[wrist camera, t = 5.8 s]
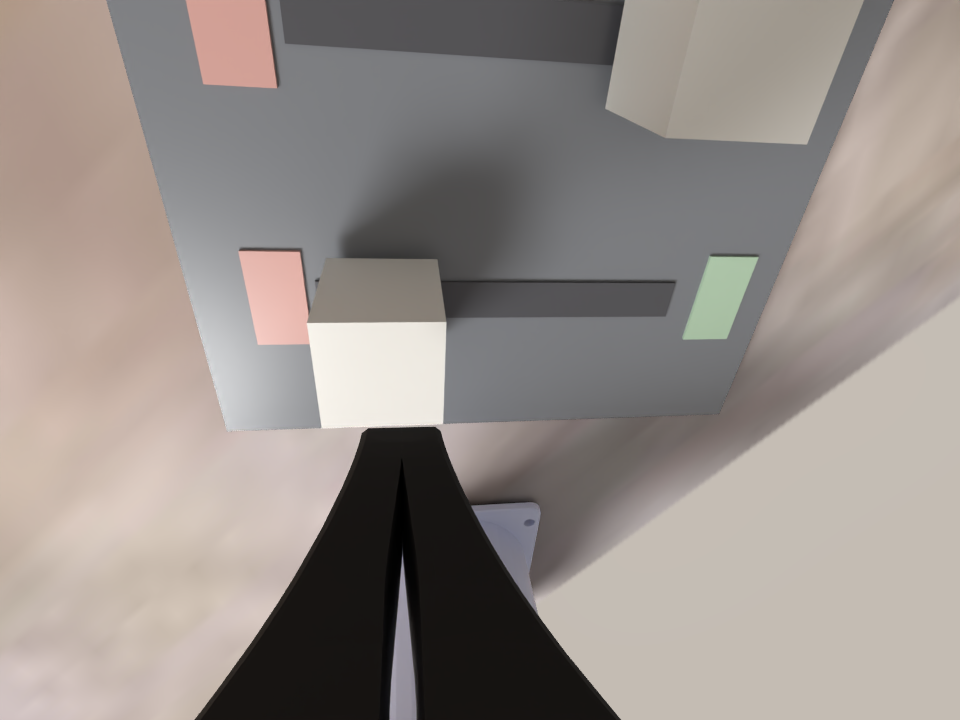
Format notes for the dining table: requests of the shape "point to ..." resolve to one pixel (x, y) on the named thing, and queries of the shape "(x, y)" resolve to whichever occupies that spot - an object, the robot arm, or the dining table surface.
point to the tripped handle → (378, 342)
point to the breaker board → (461, 198)
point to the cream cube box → (728, 66)
